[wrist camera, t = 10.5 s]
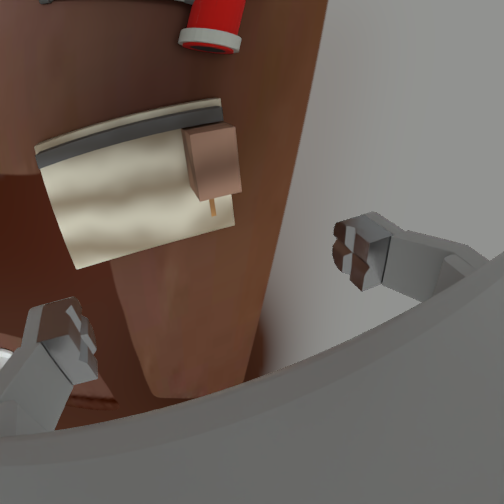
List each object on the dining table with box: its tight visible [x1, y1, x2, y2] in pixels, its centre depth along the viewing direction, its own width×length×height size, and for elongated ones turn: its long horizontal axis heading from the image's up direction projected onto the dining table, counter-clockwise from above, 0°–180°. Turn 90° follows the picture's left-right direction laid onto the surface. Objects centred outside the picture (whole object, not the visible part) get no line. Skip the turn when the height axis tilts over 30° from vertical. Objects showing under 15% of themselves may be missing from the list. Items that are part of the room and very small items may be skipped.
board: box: [34, 98, 235, 269], centre depth 33 cm, size 16×21×4 cm
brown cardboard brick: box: [181, 121, 242, 202], centre depth 32 cm, size 7×4×5 cm, turn 6°
